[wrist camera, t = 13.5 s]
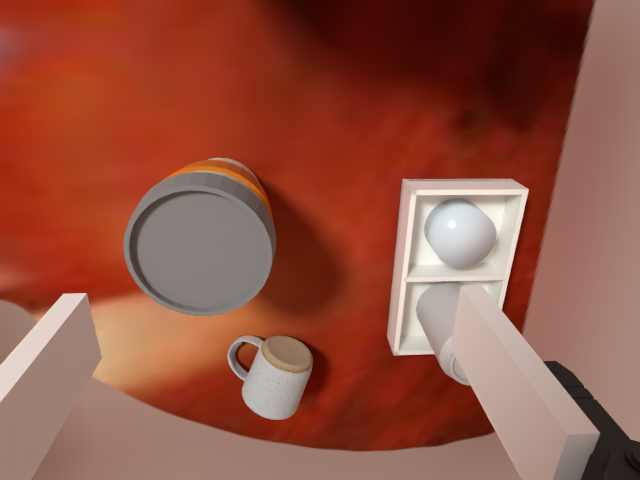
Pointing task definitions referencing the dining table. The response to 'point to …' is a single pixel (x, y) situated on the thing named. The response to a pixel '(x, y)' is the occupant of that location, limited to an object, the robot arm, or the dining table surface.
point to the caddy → (425, 266)
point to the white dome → (459, 233)
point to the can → (441, 324)
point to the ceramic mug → (274, 375)
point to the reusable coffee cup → (202, 239)
